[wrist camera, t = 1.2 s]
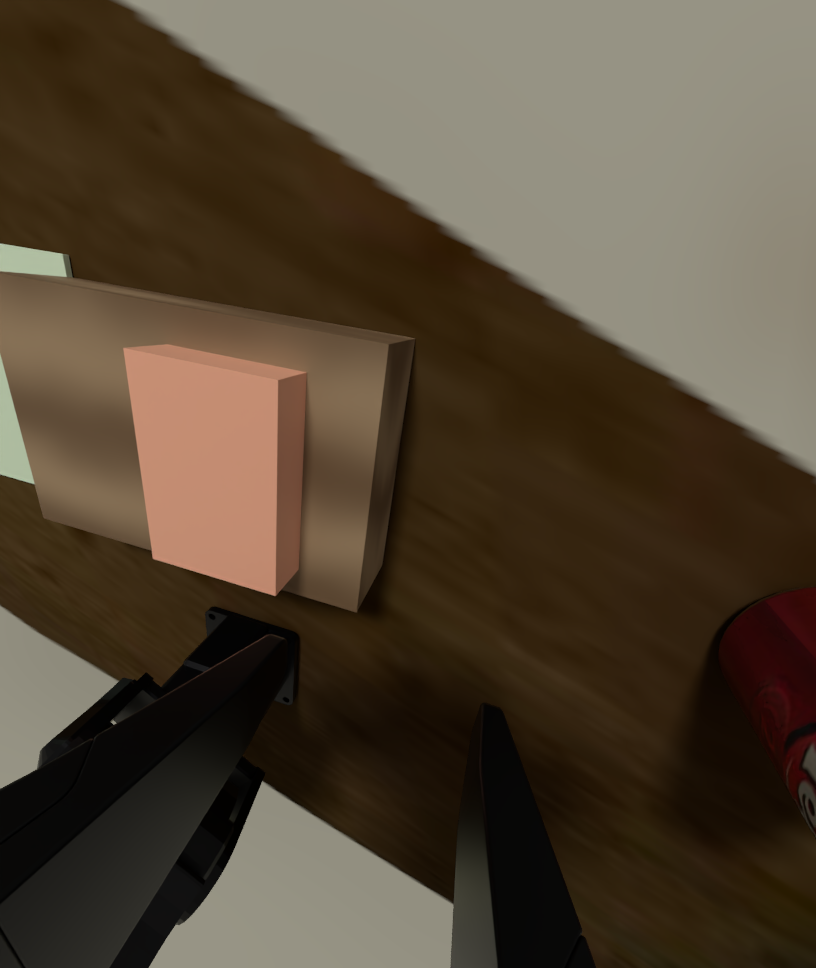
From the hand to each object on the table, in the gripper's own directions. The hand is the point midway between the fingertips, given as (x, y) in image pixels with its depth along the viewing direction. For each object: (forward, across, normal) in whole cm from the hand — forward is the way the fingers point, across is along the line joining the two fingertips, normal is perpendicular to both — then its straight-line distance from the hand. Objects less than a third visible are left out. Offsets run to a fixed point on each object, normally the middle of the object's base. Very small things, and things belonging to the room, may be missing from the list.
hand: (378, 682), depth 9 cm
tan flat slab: (+12, +12, 0) cm, 17 cm away
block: (+8, +9, 0) cm, 12 cm away
